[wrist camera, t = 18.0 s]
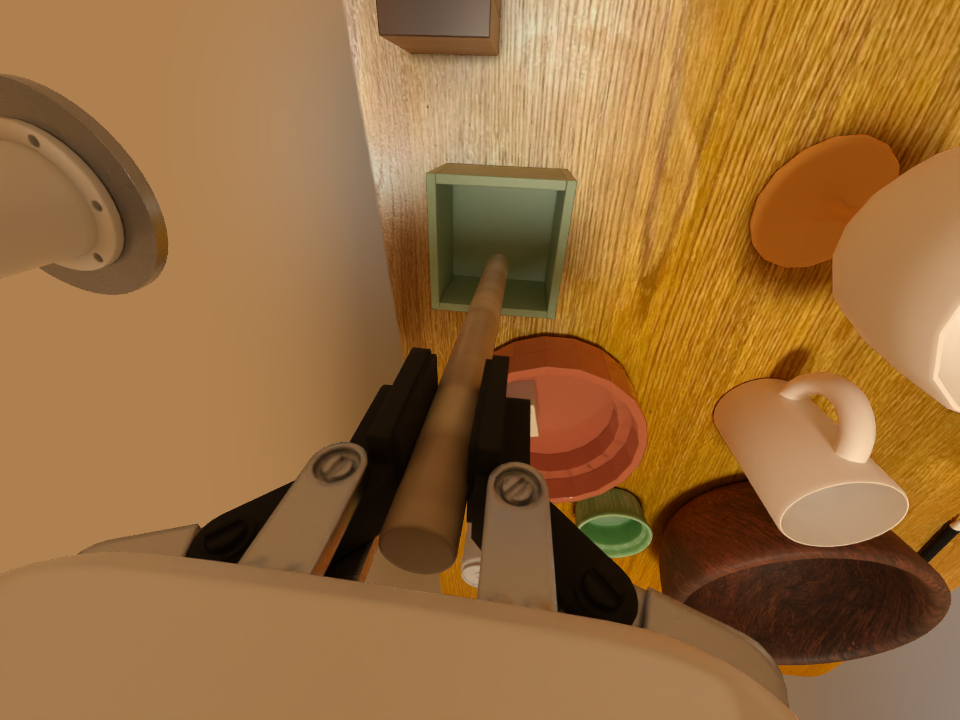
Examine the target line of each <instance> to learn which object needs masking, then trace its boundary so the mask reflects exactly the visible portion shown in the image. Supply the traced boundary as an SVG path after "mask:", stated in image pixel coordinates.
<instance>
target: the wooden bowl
mask: <svg viewBox="0 0 960 720" xmlns="http://www.w3.org/2000/svg"><path fill="white" fill-rule="evenodd" d="M659 568H660V579H661V587H662V594H664V595H666V596H669V597H671V598H673V599H675V600H677V601H679V602H681V603H683V604H685V605H687V606H689V607H691V608H693V609H695V610H697V611H699V612H701V613H703V614H705V615H707V616H709V617H711V618H714V619H716V620H718V621H720V622H722V623H724V624H726V625H728V626H730V627H732V628H734V629H736V630H738V631H740V632H742V633H744V634H746V635H747V636H749V637H750V638H752V639H753V640H755V641H756V642H758V643H759V644H760V645H761V646H762V647H763V648H764V649H765V650H766V651H767V652H768V653H769V654H770V655H771V656H772V658H773V660H774V661H775V663H776V664H777V665H811V664H824V663H833V662H841V661H847V660H853V659H858V658H863V657H867V656H871V655H875V654H879V653H882V652H886V651H889V650H892V649H895V648H897V647H900V646H903V645H905V644H907V643H909V642H912V641H914V640H916V639H918V638H919V637H921V636H923V635H925V634H926V633H928V632H929V631H931V630H932V629H933V628H934V627H935V626H936V625H937V624H939V623H940V622H941V620H942V619H943V618H944V616H945V615H946V613H947V612H948V610H949V607H950V604H951V594H950V591H949V588H948V586H947V584H946V583H945V581H944V579H943V578H942V577H941V576H940V574H939V573H938V572H937V571H936V570H935V569H934V568H933V567H932V566H931V565H930V564H929V563H928V562H926V561H925V560H924V559H923V558H922V557H921V556H920V555H919V554H917V553H916V552H915V551H914V550H913V549H912V548H911V547H910V546H909V545H907V544H906V543H905V542H904V541H903V540H902V539H901V538H900V537H898V536H897V535H896V534H895V533H894V532H893V531H891V530H889V531H887V532H885V533H883V534H881V535H879V536H877V537H874V538H871V539H869V540H866V541H862V542H859V543H854V544H849V545H843V546H834V547H819V546H810V545H805V544H801V543H798V542H795V541H793V540H791V539H790V538H788V537H786V536H785V535H784V534H783V533H782V532H781V531H780V530H779V529H778V527H777V525H776V524H775V522H774V521H773V519H772V517H771V516H770V514H769V512H768V511H767V509H766V508H765V506H764V504H763V503H762V501H761V499H760V498H759V496H758V495H757V493H756V491H755V490H754V488H753V486H752V485H751V483H750V482H749V481H745V482H739V483H734V484H729V485H726V486H722V487H719V488H716V489H713V490H711V491H708V492H706V493H703V494H701V495H699V496H697V497H696V498H694V499H692V500H691V501H689V502H688V503H686V504H685V505H684V506H682V507H681V508H680V509H679V510H678V511H677V512H676V513H675V514H674V515H673V516H672V518H671V519H670V520H669V522H668V524H667V526H666V528H665V531H664V533H663V537H662V541H661V546H660V558H659Z"/></svg>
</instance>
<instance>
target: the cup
mask: <svg viewBox="0 0 960 720" xmlns="http://www.w3.org/2000/svg"><path fill="white" fill-rule="evenodd" d="M899 169H900V164H899V162H898V160H897V158H896V157H895V155H894V153H893V151H892V150H891V148H890V146H889V144H887V143H884V142H882V141H880V140H877V139H875V138H873V137H871V136H868V135H866V134H861V135H847V136H834V137H831V138H829V139H827V140H825V141H822V142H820V143H818V144H815V145H813V146H811V147H808V148H806V149H804V150H802V151H801V152H799V153H798V154H797V155H796V156H795V157H793V158H792V159H791V160H790V161H788V162H787V163H786V164H785V165H783V166H782V167H781V168H780V169H779V170H777V171H776V172H775V173H774V175H773V176H772V178H771V179H770V180H769V182H768V183H767V185H766V186H765V187H764V189H763V190H762V192H761V193H760V194H759V196H758V197H757V200H756V203H755V206H754V209H753V212H752V216H751V219H750V222H749V225H750V233H751V241H752V245H753V246H754V248H755V249H756V250H757V251H758V253H759V254H760V255H761V256H762V258H763V259H764V260H766V261H769V262H771V263H774V264H776V265H779V266H781V267H784V268H789V267H810V266H813V265H816V264H819V263H822V262H825V261H828V260H831V259H833V263H832V277H833V298H834V300H835V301H836V303H837V304H838V306H839V307H840V309H841V310H842V311H843V313H844V314H845V316H846V317H847V318H848V320H849V321H850V322H851V324H852V325H853V327H854V328H855V329H856V331H857V332H858V333H859V335H860V336H861V337H862V339H863V340H864V341H865V342H866V343H867V344H869V345H870V346H871V347H872V348H873V349H874V350H875V351H876V352H877V353H878V354H880V355H881V356H882V357H883V358H884V359H885V360H886V361H887V362H888V363H889V364H891V365H892V366H893V367H894V368H895V369H896V370H897V371H898V372H899V373H901V374H902V375H903V376H905V377H906V378H907V379H909V380H910V381H911V382H913V383H914V384H915V385H917V386H918V387H919V388H921V389H922V390H923V391H925V392H926V393H927V394H929V395H930V396H931V397H933V398H934V399H935V400H937V401H938V402H939V403H941V404H942V405H943V406H945V407H946V408H947V409H950V410H953V411H955V412H958V413H960V145H959V146H956V147H953V148H951V149H948V150H946V151H943V152H941V153H938V154H936V155H934V156H932V157H930V158H928V159H927V160H925V161H923V162H921V163H920V164H918V165H916V166H914V167H913V168H911V169H909V170H908V171H906V172H905V173H904V174H902V175H901V176H899Z"/></svg>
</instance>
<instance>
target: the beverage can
mask: <svg viewBox="0 0 960 720" xmlns="http://www.w3.org/2000/svg"><path fill="white" fill-rule="evenodd" d="M471 526H472V523H468V527H467V534H466V540H465V546H464V553H463V559H462V566H461V570H462V575H461V576H462V578H463V580H464V581H465V582H467V583H468V584H470V585H472V586H474V587H477V588H478V582H479V571H480V560H481V550H480V549H479V548H478V546H477V545H476V544H475V543H474V541H473V540H472V539H471Z"/></svg>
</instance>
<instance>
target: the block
mask: <svg viewBox="0 0 960 720" xmlns="http://www.w3.org/2000/svg"><path fill="white" fill-rule="evenodd" d="M506 397H511V398H521V399H530V402H531V420H530V437H537V436H539V420H538V405H537V398H536V392H535V385H534V380H531V381H520V382H509V383H507V392H506Z"/></svg>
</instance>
